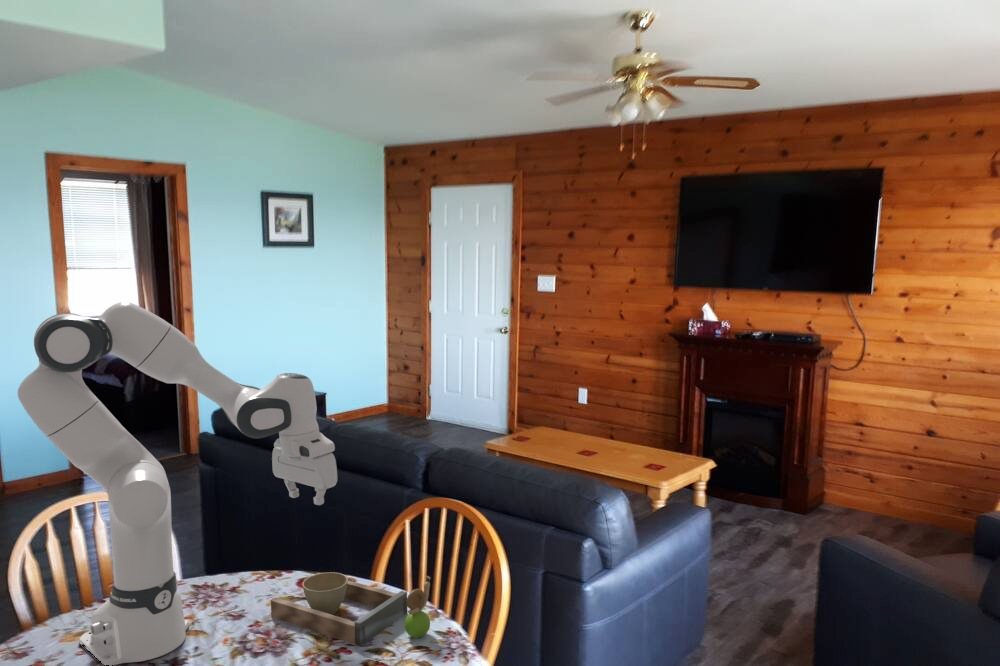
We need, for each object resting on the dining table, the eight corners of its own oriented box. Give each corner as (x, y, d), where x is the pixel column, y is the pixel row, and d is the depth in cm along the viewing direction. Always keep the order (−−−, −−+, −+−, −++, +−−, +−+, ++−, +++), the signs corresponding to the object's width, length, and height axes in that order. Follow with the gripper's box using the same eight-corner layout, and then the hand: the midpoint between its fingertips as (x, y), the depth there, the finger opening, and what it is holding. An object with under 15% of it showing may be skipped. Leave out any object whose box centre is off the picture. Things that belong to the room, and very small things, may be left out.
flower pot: (337, 624, 156) (336, 593, 155) (295, 620, 158) (294, 589, 157) (355, 603, 165) (354, 573, 165) (316, 599, 167) (314, 570, 167)
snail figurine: (439, 633, 151) (438, 579, 150) (416, 645, 146) (415, 590, 145) (421, 625, 155) (420, 572, 154) (399, 636, 150) (398, 582, 149)
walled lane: (271, 617, 159) (270, 595, 159) (321, 588, 173) (321, 569, 172) (360, 646, 146) (360, 623, 146) (407, 613, 160) (406, 592, 160)
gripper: (262, 440, 166) (268, 497, 168) (316, 452, 153) (322, 513, 155) (285, 433, 171) (291, 488, 173) (339, 444, 158) (345, 503, 160)
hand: (306, 500), depth 164 cm, fingers open, 8 cm apart
